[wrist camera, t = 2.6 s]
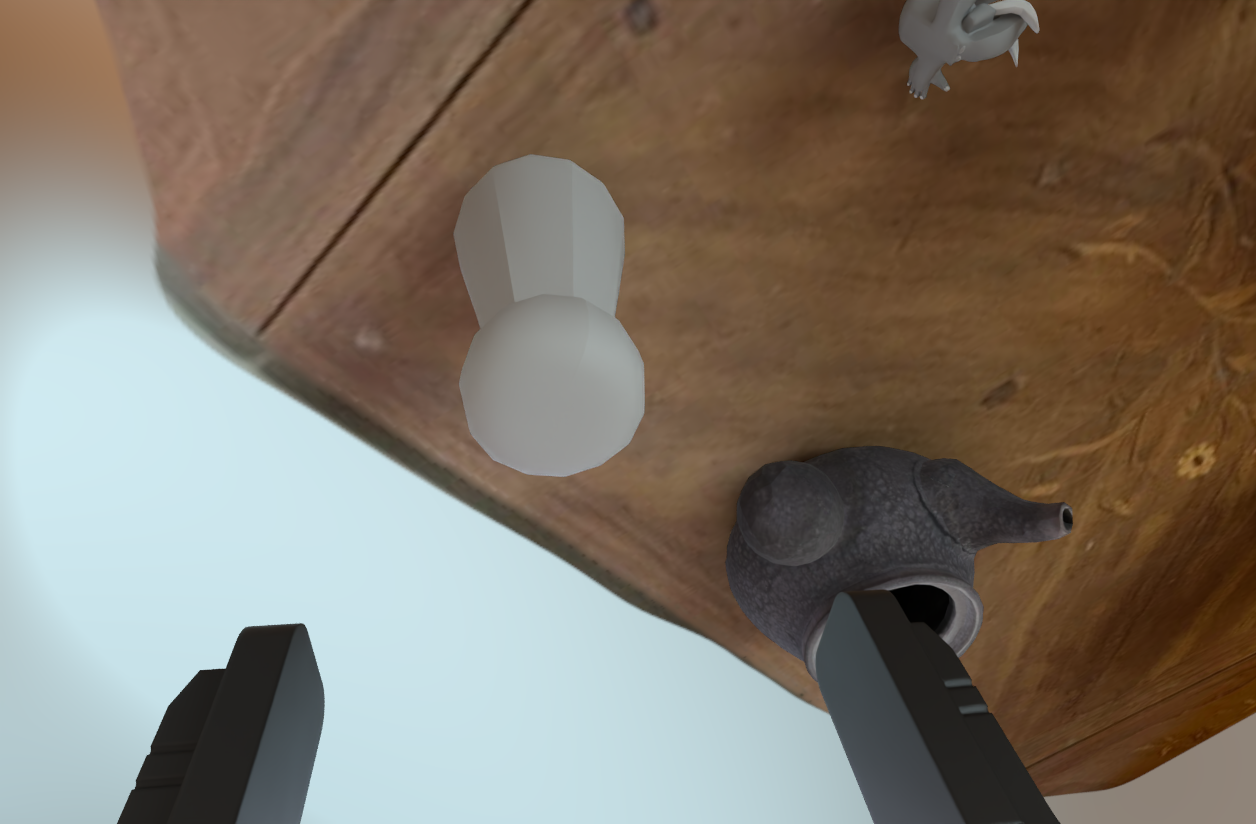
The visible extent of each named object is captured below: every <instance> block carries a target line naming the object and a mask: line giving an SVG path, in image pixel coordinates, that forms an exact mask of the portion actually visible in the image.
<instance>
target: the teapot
mask: <svg viewBox="0 0 1256 824" xmlns="http://www.w3.org/2000/svg"><path fill="white" fill-rule="evenodd" d="M1072 525H1073V520H1072V508H1071V507H1070V506H1069V505H1067V504H1066V503H1065V502H1061V503H1051V504H1044V503H1037V502H1031V501H1027V500H1023V499H1021V498H1019V497H1017V496H1015V495H1013V494H1012V493H1010V492H1008V491H1006V490H1004V489H1002V488H1001V487H999V486H997V485H995V484H994V483H992V482H991V481H989V480H987V479H986V478H984V477H983V476H981V475H979V474H978V473H977V472H975V471H974V470H973V469H971V468H970V467H968V466H966V465H965V464H963V463H961V462H960V461H958V460H957V459H946V458H942V459H935V460H931V459H928V458H926V457H923V456H921V455H918V454H916V453H913V452H908V451H904V450H899V449H894V448H888V447H882V446H863V447H852V448H842V449H839V450H835V451H832V452H829V453H826V454H823V455H820V456H817V457H814V458H812V459H809V460H807V461H805V462H797V461H792V460H790V461H780V462H775V463H770V464H765V465H764V466H762V467H761V468H760V469H759V470H757V471H756V472H755V473H754V474H753V475H751V476H750V477H749V478H748V480H747V482H746V484H745V486H744V487H743V489H742V491H741V494H740V497H739V499H738V502H737V521H736V523H735V525H734V527H733V529H732V531H731V534H730V537H729V541H728V545H727V559H726V562H725V563H726V571H727V576H728V580H729V584H730V588H731V591H732V593H733V595H734V597H735V599H736V601H737V602H738V604H739V606H740V608H741V609H742V611H743V612H744V613H745V615H746V616H747V617H748V618H749V619H750V621H751V622H752V623H753V624H754V625H755V626H756V627H757V628H758V629H759V630H760V631H761V632H762V633H763V634H764V635H765V636H767V637H768V638H769V639H771V640H772V641H773V642H775V643H776V644H777V645H779V646H780V647H781V648H783V649H784V650H786V651H787V652H789V653H791V654H792V655H794V656H795V657H797V658H799V659H800V660H802V661H804V662H805V665H806V668H807V671H808V673H809V674H810V675H811V677H812V678H813V679H814V680H815V681H816V682H818V680H817V674H816V652H817V648H818V645H819V642H820V640H821V637H822V634H823V631H824V628H825V625H826V622H827V619H828V616H829V614H830V611H831V608H832V605H833V602H834V599H835V597H836V595H837V594H838V593H840V592H848V591H864V590H880V589H885V590H888V591H890V592H891V593H892V594H893V595H894V596H895V598H896V599H897V601H898V603H899V604H900V606H901V608H902V610H903V611H904V613H905V615H906V617H907V618H908V620H909V622H910V623H913V622H924V623H925V624H927V625H928V626H929V627H930V628H931V629H932V630H933V631H934V632H935V633H936V634H937V635H938V636H940V637H941V638H942V639H943V640H944V641H945V642H946V643H947V644H948V645H949V646H950V647H951V648H953V650H954V652H955V653H956V655H957V657H958V658H959V657H960V656H962V655H963V654H964V653H965V651H966V650H967V649H968V648H969V647H970V645H971V644H972V643H973V641H974V640H975V638H976V636H977V634H978V632H979V629H980V627H981V625H982V620H983V605H982V602H981V600H980V597H979V595H978V593H977V592H976V591H975V590H974V589H973V581H974V557H975V555H976V553H977V551H978V550H980V549H983V548H985V547H987V546H990V545H993V544H997V543H1028V542H1041V541H1047V540H1054V539H1059V538H1061V537H1063V536H1065V535H1067V534H1069V533H1071V529H1072Z"/></svg>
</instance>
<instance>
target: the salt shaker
mask: <svg viewBox="0 0 1256 824" xmlns="http://www.w3.org/2000/svg"><path fill="white" fill-rule="evenodd" d="M453 235H454V240H455V245H456V249H457V254H458V259H459V264H460V269H461V272H462V275H463V278H464V281H465V284H466V287H467V290H468V293H469V296H470V298H471V301H472V304H473V307H474V310H475V313H476V316H477V319H478V323H479V326H480V330H479V331H478V332H477V333H476V334H475V335H474V337H473V340H472V343H471V345H470V348H469V351H468V354H467V357H466V359H465V362H464V365H463V368H462V372H461V377H460V381H459V386H460V391H461V396H462V400H463V404H464V409H465V413H466V417H467V422H468V426H469V430H470V434H471V435H472V436H473V437H474V438H475V440H476V441H477V442H478V443H479V444H480V445H481V446H482V448H483V449H484V450H485V451H486V452H487V453H488V455H489V456H490V457H491V458H492V459H493V460H495V461H497V462H499V463H502V464H504V465H506V466H509V467H511V468H513V469H516V470H518V471H520V472H522V473H525V474H528V475H544V476H561V477H566V476H569V475H572V474H575V473H578V472H582V471H585V470H588V469H591V468H594V467H598V466H601V465H602V464H603V463H605V462H606V461H607V460H609V459H610V458H611V457H612V456H614V455H615V454H616V453H618V452H619V451H620V450H622V449H623V448H624V447H626V446H627V445H628V444H629V443H630V441H631V439H632V437H633V435H634V433H635V431H636V429H637V427H638V425H639V423H640V421H641V419H642V417H643V415H644V405H645V391H644V363H643V361H642V358H641V356H640V353H639V351H638V349H637V348H636V346H635V345H634V343H633V342H632V340H631V338H630V337H629V335H628V334H627V332H626V331H625V329H624V328H623V326H622V325H621V323H620V321H619V320H618V319H616V318H615V313H616V307H617V301H618V294H619V288H620V282H621V275H622V269H623V263H624V257H625V242H624V218H623V216H622V214H621V213H620V211H619V209H618V207H617V206H616V204H615V202H614V201H613V199H612V197H611V195H610V194H609V192H608V190H607V188H606V187H605V185H604V184H603V183H602V182H601V181H599V180H598V179H597V178H595V177H594V176H592V175H591V174H589V173H588V172H586V171H585V170H584V169H582V168H581V167H579V166H578V165H576V164H575V163H574V162H572V161H571V160H567V159H561V158H554V157H547V156H540V155H533V154H530V155H526V156H523V157H520V158H517V159H514V160H511V161H508V162H505V163H502V164H499V165H496V166H493V167H492V168H491V169H490V170H489V171H488V172H487V173H486V174H485V175H484V176H483V178H482V179H481V180H480V181H479V182H478V183H477V184H476V185H475V186H474V187H473V188H472V189H471V190H470V191H469V192H468V193H467V194H466V196H465V197H464V200H463V204H462V207H461V210H460V213H459V217H458V220H457V223H456V227H455V230H454V233H453Z"/></svg>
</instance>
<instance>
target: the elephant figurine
mask: <svg viewBox="0 0 1256 824" xmlns="http://www.w3.org/2000/svg"><path fill="white" fill-rule="evenodd" d="M994 1H997V0H907V1H906V3H905V5H904V7H903V9H902V12H901V15H900V20H899V36H900V39H901V41H902V42H903V43H904V44H905V45H907V46H908V47H909V48H910V49H911V50H912V51H913V52H914V53H915V54H916V55H917V56H918V57H917V58H916V59H915V60H914V61H913V62H912V64H911V66H910V69H909V81H908V82H907V85H908V86H910V85H911V84H912V85H911V89H910V93H913V92H914V91H915V93H914V97H915V98H917V97H919V96H920V98H921V99H925V98H926V97H927V92H928V88H929V85H930V83H932V84H934V85H936V86H938V87H940V88H941V89H942V90H944V91H948V90H949V89H950V87H949V85H948V83H947V81H946V79H945V77H944V76H943V74H942V72H941V67H942V66H943V65H944V64H945V63H948V64H949V65H950V66H951V65H952V64H953V63H955V62H957V61H960V60H965V61H970V62H976V61H981V60H987V59H991V58H994V57H997V56H999V55H1001V54H1003V53H1005V52H1006V51H1008V50H1009V52H1010V54H1011V56H1012V58H1013V61H1014V63H1015V66H1016V67H1017V65H1018V53H1019V47H1018V37H1019V36H1020V34H1021V33H1022V32H1023V31H1024V30H1025V29H1026V27H1027V25H1029V26H1030V27H1031V29H1032V30H1033V31H1034V32H1035V33H1038V32H1039V30H1040V29H1039V24H1038V18H1037V14H1036V12H1035V9H1034V8H1033V7H1032V5H1031V4H1030V3H1029V2H1027V1H1025V0H1004V1H1000V2H997V3H994V4H990V3H992V2H994ZM988 4H990V5H988ZM921 91H922V92H921ZM920 94H921V95H920Z"/></svg>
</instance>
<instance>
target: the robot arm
mask: <svg viewBox="0 0 1256 824" xmlns="http://www.w3.org/2000/svg"><path fill="white" fill-rule="evenodd" d="M816 674H817V680H818V684H819V688H820V691H821V693H822V696H823V698H824V701H825V703H826V706H827V708H828V711H829V713H830V716H831V718H832V721H833V723H834V725H835V728H836V730H837V733H838V735H839V738H840V740H841V743H842V745H843V748H844V750H845V753H846V755H847V758H848V760H849V763H850V765H851V768H852V770H853V772H854V775H855V777H856V780H857V782H858V785H859V787H860V790H861V792H862V794H863V797H864V800H865V802H866V805H867V807H868V810H869V812H870V815H871V817H872V820H873V822H874V824H1060V822H1059V821H1058V820H1057V818H1056V817H1055V815H1054V814H1053V812H1052V811H1051V809H1050V808H1049V806H1048V804H1047V803H1046V801H1045V799H1044V798H1043V796H1042V794H1041V793H1040V791H1039V790H1038V788H1037V786H1036V785H1035V783H1034V781H1033V780H1032V778H1031V776H1030V775H1029V773H1028V771H1027V770H1026V768H1025V767H1024V765H1023V763H1022V762H1021V760H1020V758H1019V757H1018V755H1017V753H1016V752H1015V750H1014V749H1013V747H1012V745H1011V744H1010V742H1009V740H1008V739H1007V737H1006V735H1005V734H1004V732H1003V730H1002V729H1001V727H1000V726H999V724H998V722H997V721H996V719H995V717H994V716H993V714H992V713H989V712H988V709H987V707H988V706H987V704H986V703H985V701H984V699H983V698H982V696H981V694H980V693H979V691H978V689H977V688H976V686H974V687H973V685H972V683H971V681H972V680H971V678H970V676H969V675H968V673H967V671H966V670H965V668H964V667H963V665H962V663H961V662H960V660H959V658H958V657H957V655H956V653H955V652H954V650H953V648H951V647H950V646H949V645H948V644H947V643H946V642H945V641H944V640H943V639H942V638H941V637H940V636H938V635H937V634H936V633H935V632H934V631H933V630H932V629H931V628H930V627H929V626H928V625H927V624H925V623H924V622H913V623H910V622H909V620H908V618H907V617H906V615H905V613H904V611H903V610H902V608H901V606H900V604H899V603H898V601H897V599H896V598H895V596H894V595H893V594H892V593H891V592H890V591H888V590H885V589H880V590H864V591H848V592H840V593H838V594H837V595H836V597H835V599H834V602H833V605H832V608H831V611H830V614H829V616H828V619H827V622H826V625H825V628H824V631H823V634H822V637H821V640H820V642H819V645H818V648H817V652H816ZM323 719H324V689H323V684H322V680H321V677H320V673H319V670H318V666H317V663H316V659H315V656H314V652H313V649H312V645H311V642H310V638H309V635H308V631H307V628H306V627H305V625H304V624H301V623H300V624H286V625H285V624H284V625H268V626H251V627H246V628H244V629H243V630H242V631H241V633H240V634H239V636H238V638H237V641H236V643H235V646H234V649H233V651H232V654H231V656H230V659H229V662H228V664H227V667H226V669H212V670H200V671H199V672H198V673H197V674H196V676H195V677H194V678H193V679H192V680H191V681H190V682H189V683H188V685H187V686H186V687H185V688H184V689H183V690H182V692H180V694H179V695H178V696H177V697H176V698H175V699H174V700H173V702H172V703H171V704H170V705H169V706H168V708H167V710H166V713H165V715H164V717H163V720H162V722H161V724H160V726H159V729H158V731H157V734H156V736H155V738H154V740H153V742H152V745H151V752H150V754H149V755H147V756H146V758H145V761H144V763H143V766H142V768H141V770H140V772H139V775H138V777H137V779H136V787H135V789H134V790H132V791H131V793H130V795H129V798H128V800H127V802H126V804H125V807H124V809H123V811H122V814H121V816H120V818H119V820H118V823H117V824H300V821H301V817H302V813H303V808H304V804H305V800H306V796H307V791H308V787H309V783H310V778H311V774H312V770H313V766H314V761H315V757H316V752H317V749H318V744H319V740H320V735H321V731H322V725H323Z"/></svg>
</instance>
